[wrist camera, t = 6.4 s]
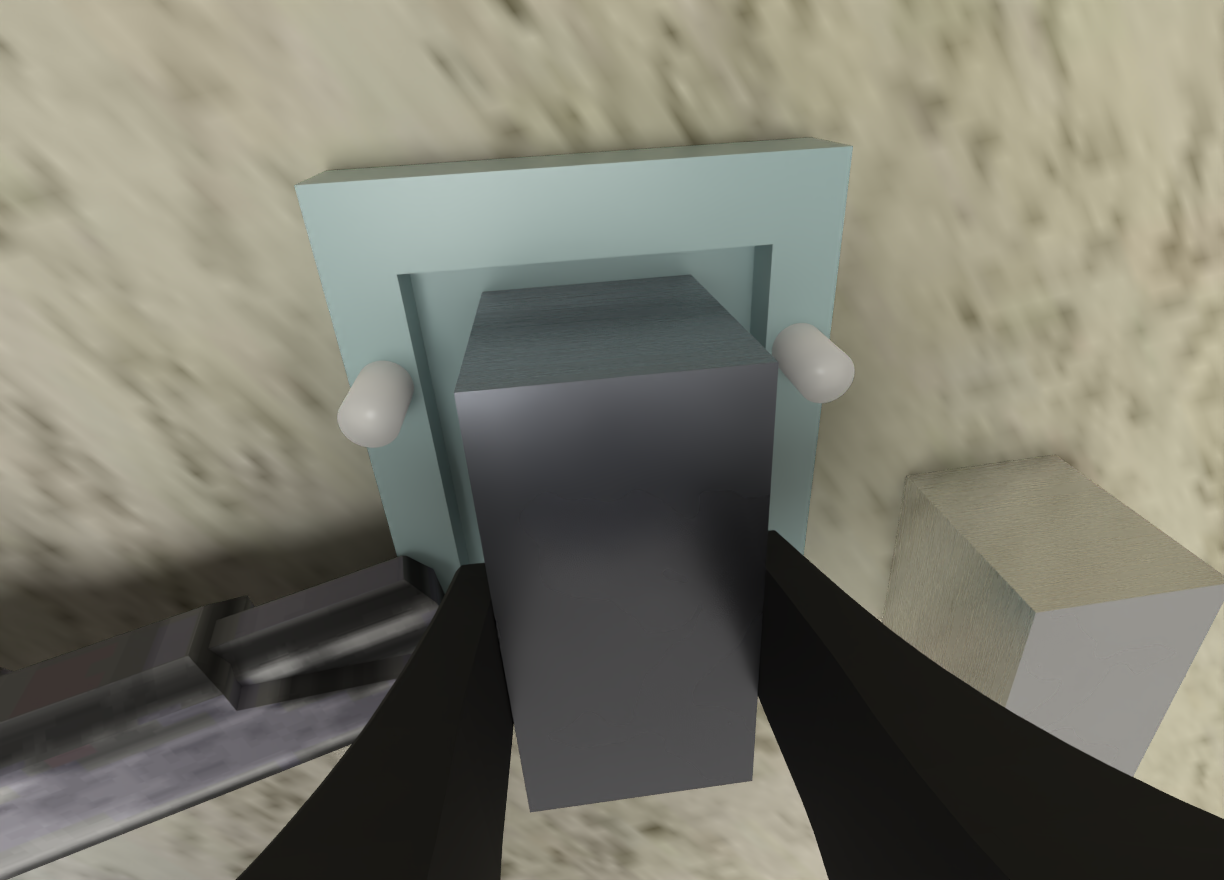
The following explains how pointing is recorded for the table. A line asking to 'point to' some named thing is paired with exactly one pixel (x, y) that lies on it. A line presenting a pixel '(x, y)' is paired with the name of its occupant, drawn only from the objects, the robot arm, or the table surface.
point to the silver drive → (1050, 600)
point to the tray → (561, 255)
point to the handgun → (197, 707)
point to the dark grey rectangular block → (622, 529)
